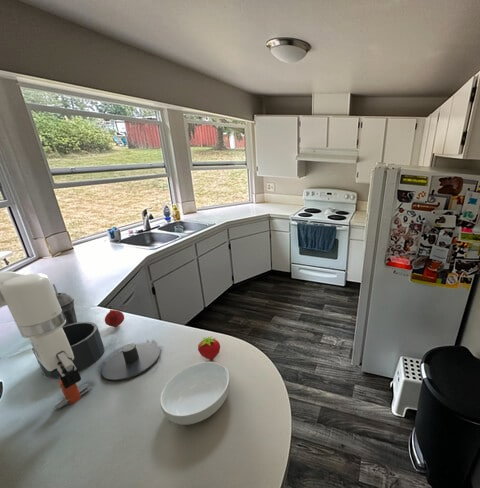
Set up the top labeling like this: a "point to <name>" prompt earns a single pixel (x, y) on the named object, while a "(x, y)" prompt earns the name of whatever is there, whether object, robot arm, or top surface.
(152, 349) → the lid
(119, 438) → the top surface
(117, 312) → the onion
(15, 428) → the top surface
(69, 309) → the beverage cup
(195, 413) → the cereal bowl
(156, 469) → the top surface
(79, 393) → the blade
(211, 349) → the strawberry
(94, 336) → the processor bowl
